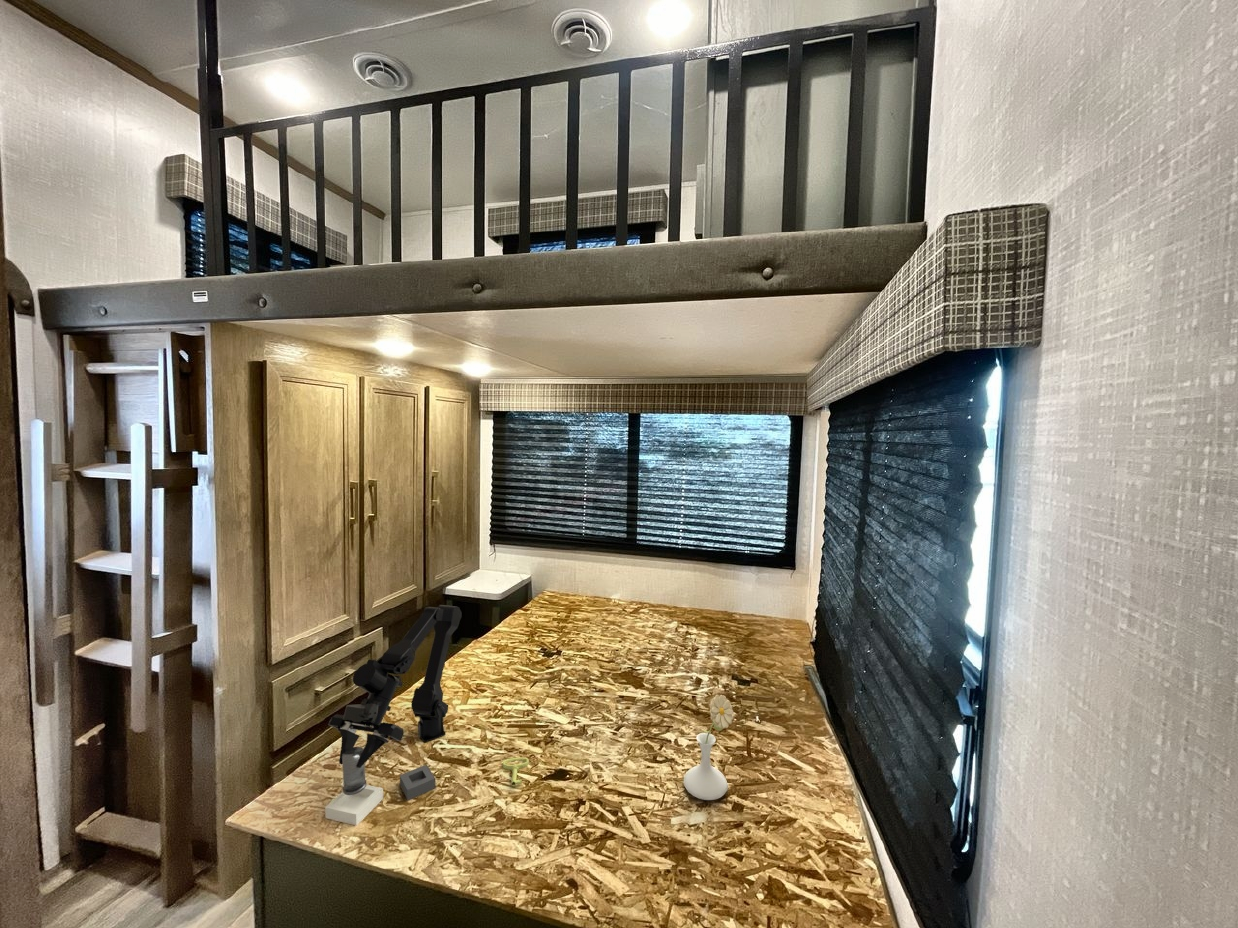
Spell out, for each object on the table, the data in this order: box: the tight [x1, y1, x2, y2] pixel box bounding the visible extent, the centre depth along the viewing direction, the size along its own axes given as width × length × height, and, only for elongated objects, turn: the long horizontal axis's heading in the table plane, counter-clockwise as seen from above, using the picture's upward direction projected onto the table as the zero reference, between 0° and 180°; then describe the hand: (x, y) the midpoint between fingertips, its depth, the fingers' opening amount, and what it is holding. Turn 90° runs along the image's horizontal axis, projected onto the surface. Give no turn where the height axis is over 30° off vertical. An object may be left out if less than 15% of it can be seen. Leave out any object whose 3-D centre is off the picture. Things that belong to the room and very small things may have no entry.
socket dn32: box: [399, 764, 437, 801], centre depth 132 cm, size 7×7×3 cm
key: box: [501, 756, 530, 787], centre depth 138 cm, size 7×12×2 cm, turn 27°
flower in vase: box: [683, 694, 734, 801], centre depth 131 cm, size 13×11×25 cm
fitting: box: [341, 746, 367, 795], centre depth 124 cm, size 5×5×9 cm
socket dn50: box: [324, 784, 384, 826], centre depth 125 cm, size 9×9×3 cm
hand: (349, 765), depth 123 cm, fingers closed on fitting, 5 cm apart
